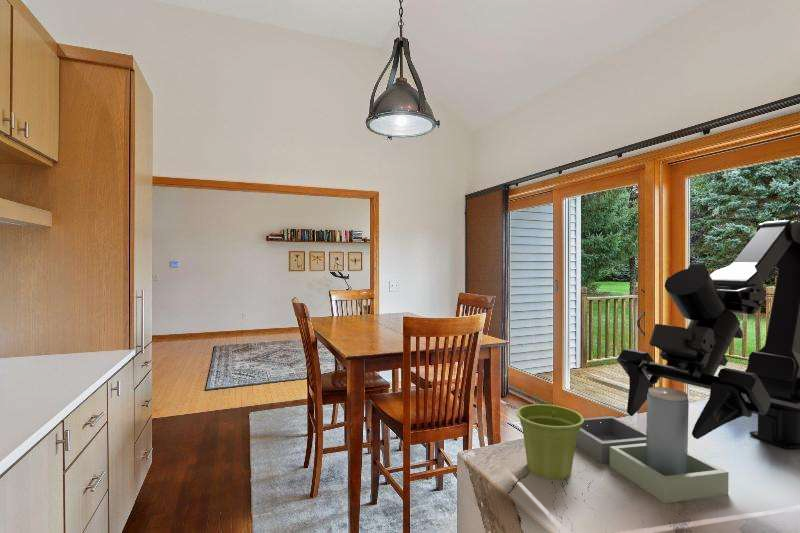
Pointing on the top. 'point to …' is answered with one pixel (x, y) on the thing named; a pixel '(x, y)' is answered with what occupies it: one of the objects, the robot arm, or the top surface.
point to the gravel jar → (667, 431)
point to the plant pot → (550, 438)
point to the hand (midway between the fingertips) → (659, 424)
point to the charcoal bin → (606, 436)
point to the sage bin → (673, 488)
